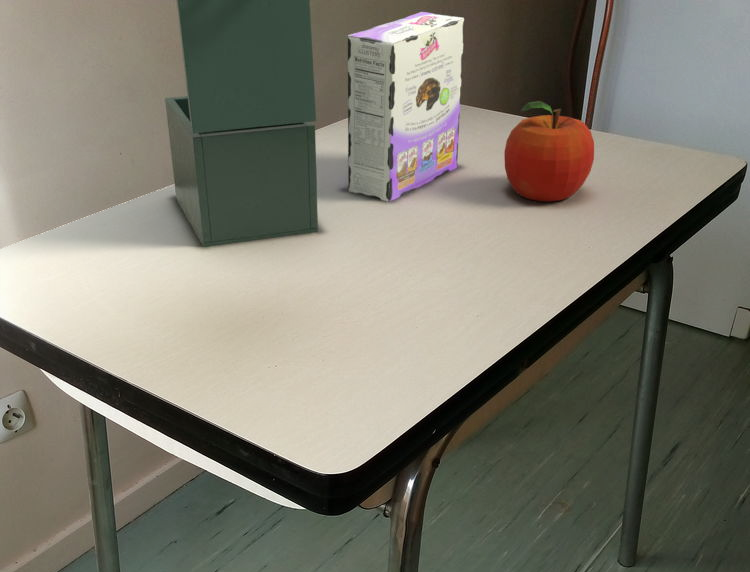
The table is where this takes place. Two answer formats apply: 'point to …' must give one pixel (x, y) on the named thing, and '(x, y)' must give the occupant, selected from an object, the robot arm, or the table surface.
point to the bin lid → (247, 63)
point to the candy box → (403, 104)
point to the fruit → (548, 155)
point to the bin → (243, 178)
